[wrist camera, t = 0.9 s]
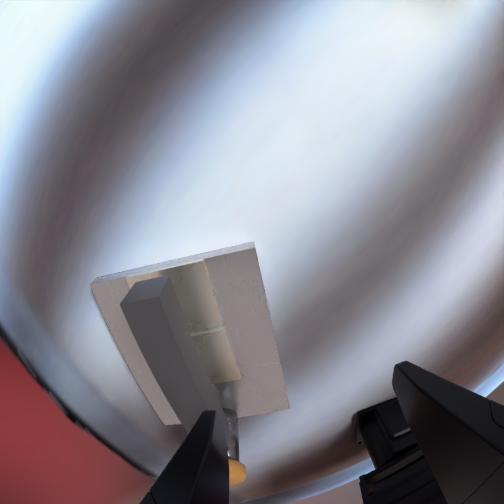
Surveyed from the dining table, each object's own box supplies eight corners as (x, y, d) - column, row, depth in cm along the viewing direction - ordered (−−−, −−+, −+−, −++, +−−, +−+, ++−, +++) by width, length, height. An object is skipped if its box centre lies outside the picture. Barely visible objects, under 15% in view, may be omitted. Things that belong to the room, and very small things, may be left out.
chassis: (288, 403, 22) (301, 460, 16) (169, 419, 22) (159, 473, 16) (253, 241, 18) (263, 283, 12) (96, 277, 18) (52, 323, 12)
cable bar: (247, 445, 19) (250, 483, 15) (209, 449, 19) (207, 486, 15) (181, 272, 14) (165, 309, 11) (125, 284, 14) (98, 320, 11)
